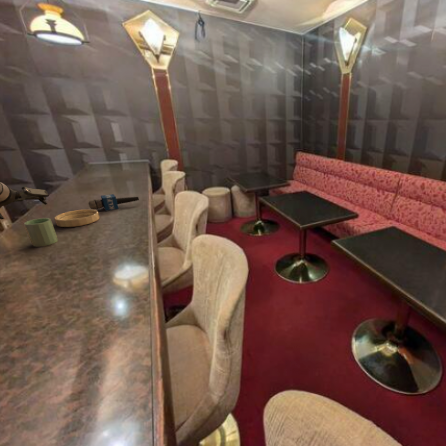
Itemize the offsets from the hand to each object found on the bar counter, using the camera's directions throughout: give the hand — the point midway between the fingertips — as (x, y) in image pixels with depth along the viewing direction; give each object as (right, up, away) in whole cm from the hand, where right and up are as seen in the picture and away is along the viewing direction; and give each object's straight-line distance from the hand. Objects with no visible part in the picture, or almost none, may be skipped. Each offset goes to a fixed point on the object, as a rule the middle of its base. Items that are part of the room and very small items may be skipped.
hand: (23, 208), depth 100 cm
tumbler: (+2, -14, +7) cm, 16 cm away
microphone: (-2, +4, +53) cm, 53 cm away
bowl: (-4, -5, +30) cm, 30 cm away
